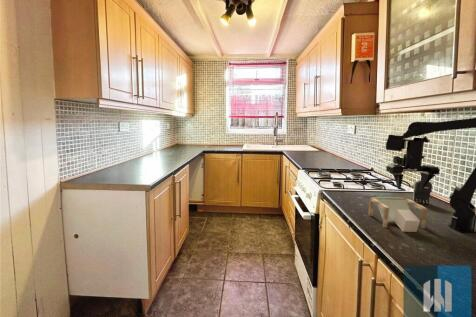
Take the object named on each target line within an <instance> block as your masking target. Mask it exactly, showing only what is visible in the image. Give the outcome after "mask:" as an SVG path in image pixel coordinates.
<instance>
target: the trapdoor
mask: <svg viewBox="0 0 476 317" xmlns="http://www.w3.org/2000/svg"><path fill="white" fill-rule="evenodd" d="M377 200H378V201H380V202H381V203H383V204H384V205H386V206H388V207H389V214H388V223H395V221H394V217H395V213H396V210H410V211H411V212H412V210H411V208H410V206H409V203H407V201H406V200H405V199H377ZM377 208H378V212H379V214H380V216H381V218H382V220H383V215H384V209H383V208H381V207H380V206H378V205H377Z"/></svg>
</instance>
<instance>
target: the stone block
mask: <svg viewBox="0 0 476 317" xmlns="http://www.w3.org/2000/svg"><path fill="white" fill-rule="evenodd" d="M410 210H411V209H410ZM410 210H396V213H395V217H394V221H395V222H394V223H395V224H396V225H397V226H398V228H399V229H400V230H401V232H403V233H405V232H406V233H407V232H408V233H417V231H418V229H419V227H420V219H419V218H418V217H417V216H416V215H415V214H414V213H413V212H412V210H411V211H410Z"/></svg>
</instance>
